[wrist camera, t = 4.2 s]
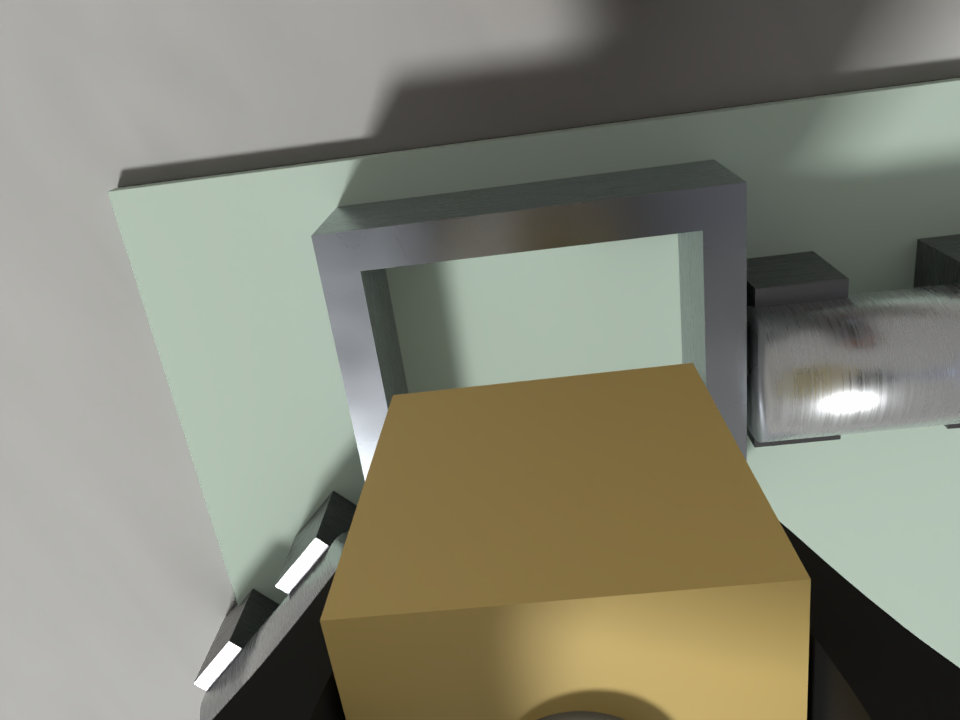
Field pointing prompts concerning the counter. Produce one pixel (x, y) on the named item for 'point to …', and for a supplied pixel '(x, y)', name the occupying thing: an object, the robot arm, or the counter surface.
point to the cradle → (537, 226)
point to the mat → (553, 317)
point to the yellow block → (567, 561)
